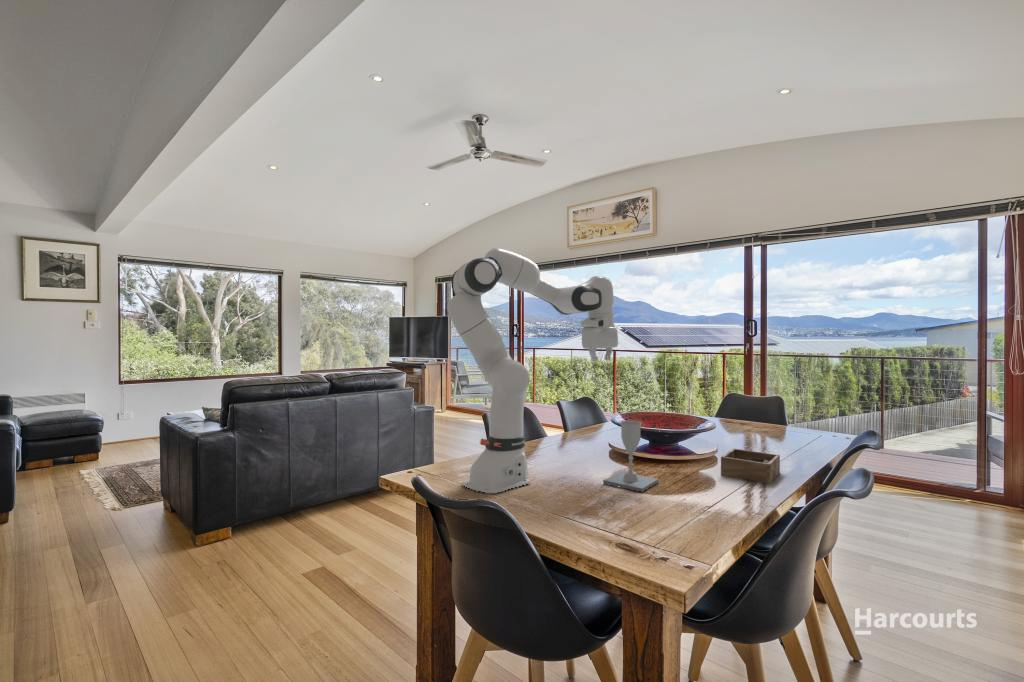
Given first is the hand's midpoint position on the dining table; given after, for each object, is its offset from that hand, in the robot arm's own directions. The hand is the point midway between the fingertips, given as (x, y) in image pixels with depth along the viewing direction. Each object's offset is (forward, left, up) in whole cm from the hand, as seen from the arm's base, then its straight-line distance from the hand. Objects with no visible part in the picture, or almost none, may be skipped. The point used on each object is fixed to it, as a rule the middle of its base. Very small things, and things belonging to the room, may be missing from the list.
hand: (600, 360), depth 174 cm
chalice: (-14, -18, -36) cm, 43 cm away
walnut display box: (+20, -45, -37) cm, 62 cm away
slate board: (-14, -18, -37) cm, 44 cm away
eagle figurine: (+18, -48, -37) cm, 63 cm away
